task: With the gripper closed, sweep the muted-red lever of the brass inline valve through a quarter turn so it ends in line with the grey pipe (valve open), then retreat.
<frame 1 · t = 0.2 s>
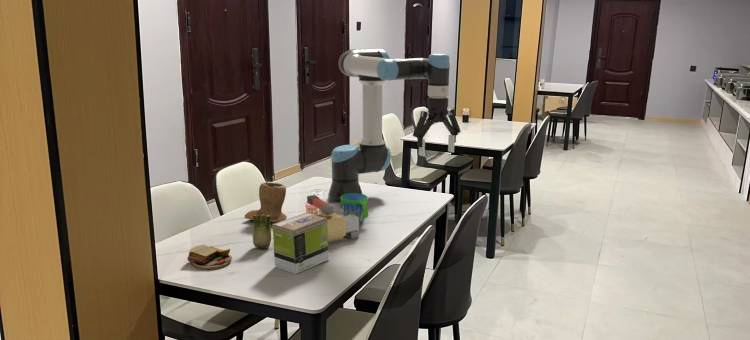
hand: (436, 153, 224), 28 cm above the table, fingers open, 13 cm apart
fennel bulb: (262, 248, 206), on the table
tea box: (301, 264, 193), on the table
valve: (328, 240, 213), on the table
snack cup: (354, 222, 234), on the table
lever: (320, 204, 216), point 12 cm above the table, hinge at 0.0°
toy sandwich meal: (210, 263, 193), on the table
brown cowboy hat: (268, 220, 236), on the table
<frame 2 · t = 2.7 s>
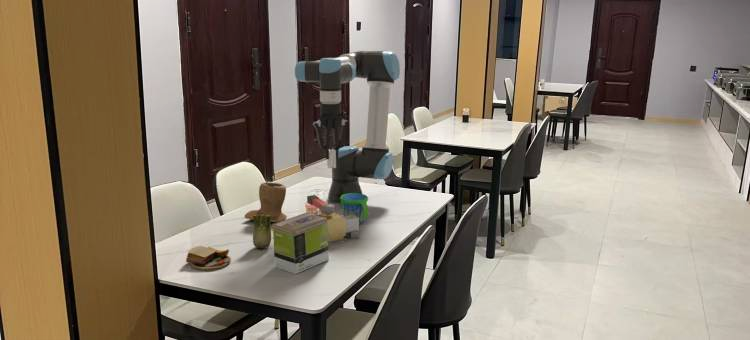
hand: (331, 167, 217), 24 cm above the table, fingers closed
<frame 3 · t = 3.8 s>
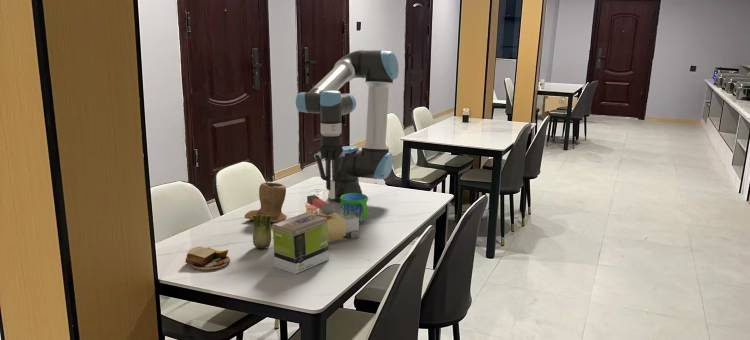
hand: (331, 197, 220), 13 cm above the table, fingers closed
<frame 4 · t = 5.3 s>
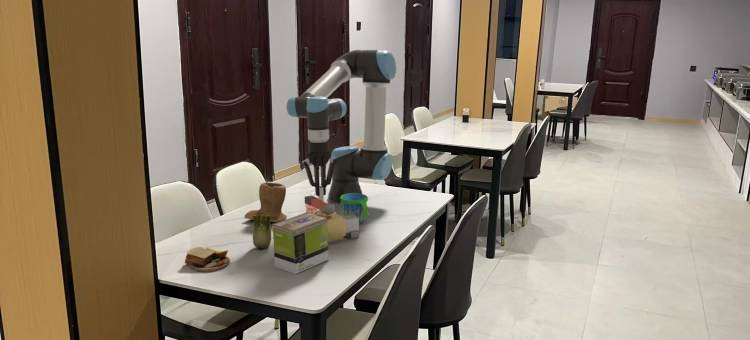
hand: (321, 203, 219), 11 cm above the table, fingers closed
lever: (319, 204, 216), point 12 cm above the table, hinge at 4.3°, touching gripper
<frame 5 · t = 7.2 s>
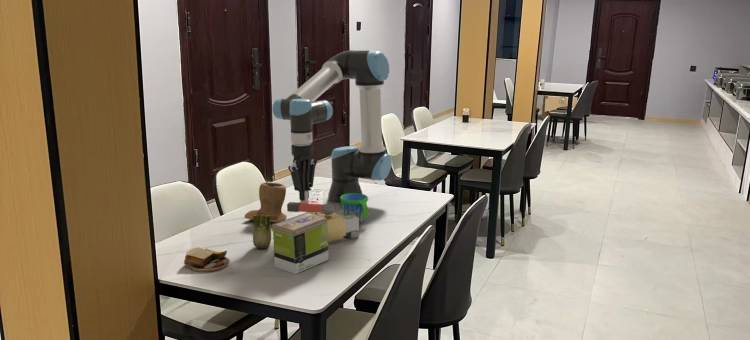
hand: (304, 208, 215), 11 cm above the table, fingers closed
lever: (311, 207, 212), point 12 cm above the table, hinge at 49.5°, touching gripper
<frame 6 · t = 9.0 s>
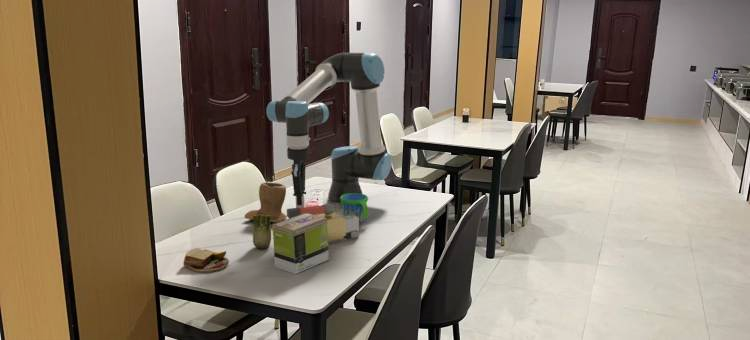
hand: (300, 212, 210), 11 cm above the table, fingers closed
lever: (311, 210, 208), point 12 cm above the table, hinge at 82.7°, touching gripper
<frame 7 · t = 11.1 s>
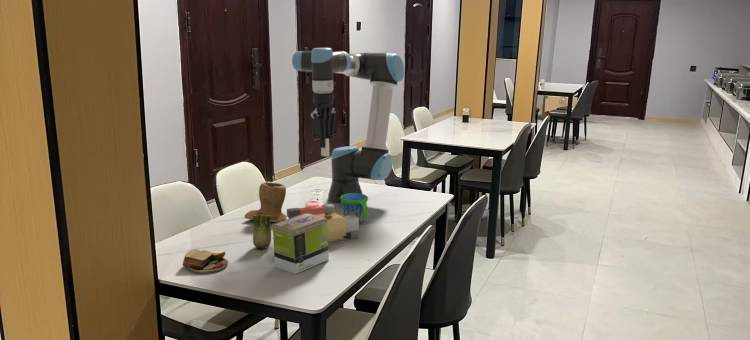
hand: (325, 155, 221), 28 cm above the table, fingers closed
lever: (311, 210, 208), point 12 cm above the table, hinge at 82.7°
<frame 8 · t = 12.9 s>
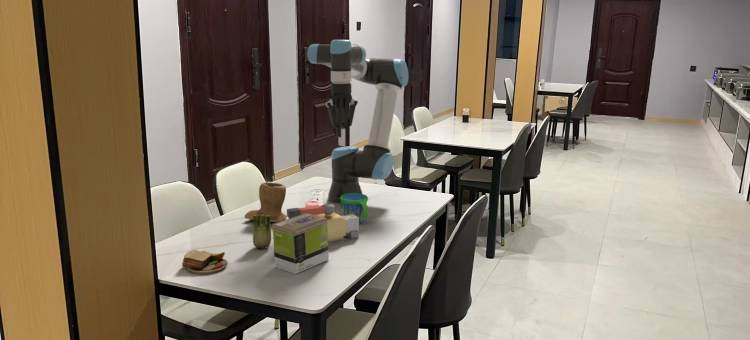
hand: (341, 145, 227), 30 cm above the table, fingers closed
at the end: lever at +83° (first picture: +0°); lever touching nothing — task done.
